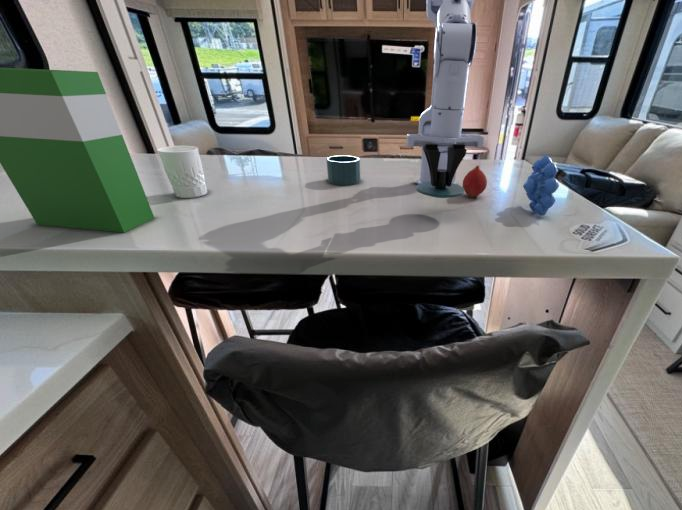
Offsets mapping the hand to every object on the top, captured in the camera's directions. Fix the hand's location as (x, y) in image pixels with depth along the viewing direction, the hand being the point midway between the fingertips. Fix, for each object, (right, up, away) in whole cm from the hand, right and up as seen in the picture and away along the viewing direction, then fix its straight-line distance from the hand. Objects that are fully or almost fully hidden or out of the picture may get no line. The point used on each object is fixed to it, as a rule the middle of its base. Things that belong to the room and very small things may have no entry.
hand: (440, 185), depth 68 cm
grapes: (+22, -3, +9) cm, 24 cm away
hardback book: (-66, -8, -4) cm, 67 cm away
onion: (+10, +2, +17) cm, 19 cm away
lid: (0, -1, +1) cm, 1 cm away
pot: (-24, +10, +26) cm, 37 cm away
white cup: (-58, +2, +12) cm, 59 cm away
